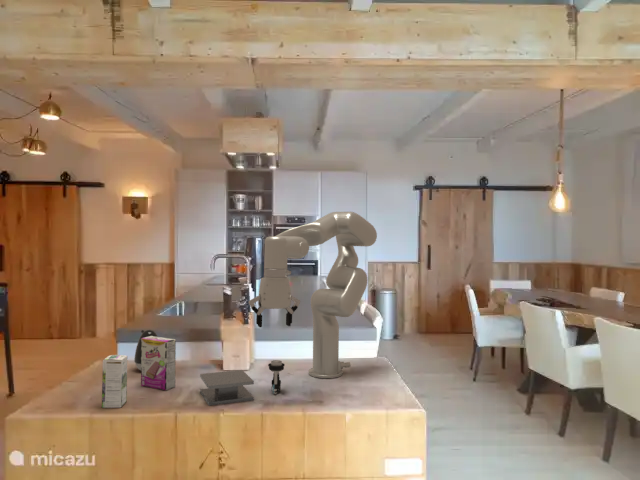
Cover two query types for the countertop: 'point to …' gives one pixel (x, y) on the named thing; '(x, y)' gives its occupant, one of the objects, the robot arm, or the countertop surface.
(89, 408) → the countertop surface
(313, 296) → the robot arm
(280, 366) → the push button
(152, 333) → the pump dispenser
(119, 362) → the syrup box
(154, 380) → the candy bar box
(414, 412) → the countertop surface
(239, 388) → the stand
